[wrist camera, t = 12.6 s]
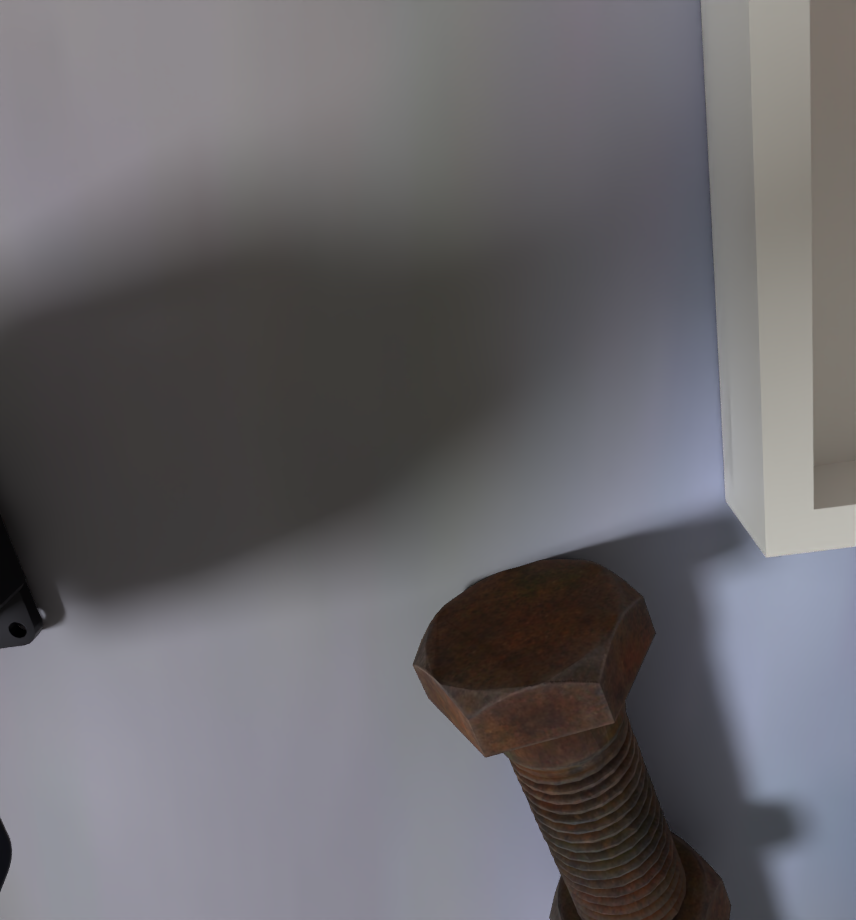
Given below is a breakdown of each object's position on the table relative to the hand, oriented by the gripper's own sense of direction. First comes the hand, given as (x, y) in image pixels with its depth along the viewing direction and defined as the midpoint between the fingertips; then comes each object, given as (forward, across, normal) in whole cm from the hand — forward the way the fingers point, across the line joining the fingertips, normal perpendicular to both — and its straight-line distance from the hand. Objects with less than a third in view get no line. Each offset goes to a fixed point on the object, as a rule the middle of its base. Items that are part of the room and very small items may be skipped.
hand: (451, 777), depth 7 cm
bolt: (+14, -2, +13) cm, 19 cm away
